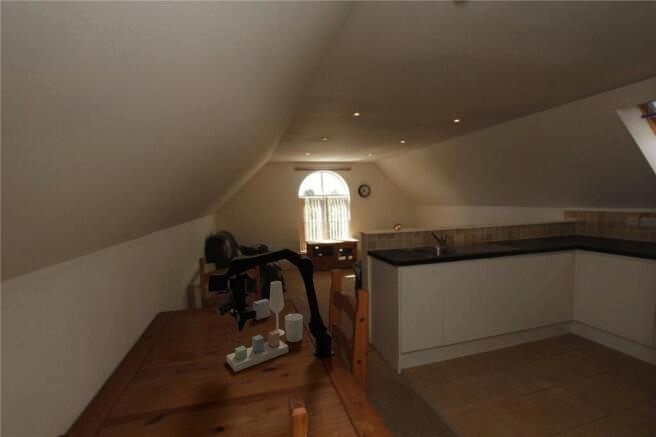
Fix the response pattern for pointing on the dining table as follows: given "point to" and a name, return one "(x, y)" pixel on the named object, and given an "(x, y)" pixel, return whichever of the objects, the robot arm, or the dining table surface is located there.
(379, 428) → the dining table surface
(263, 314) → the medicine box
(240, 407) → the dining table surface
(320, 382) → the dining table surface
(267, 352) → the button board
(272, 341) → the terracotta button
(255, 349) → the grey rectangular block
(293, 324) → the white cup
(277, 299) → the champagne flute
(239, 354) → the pale green block
